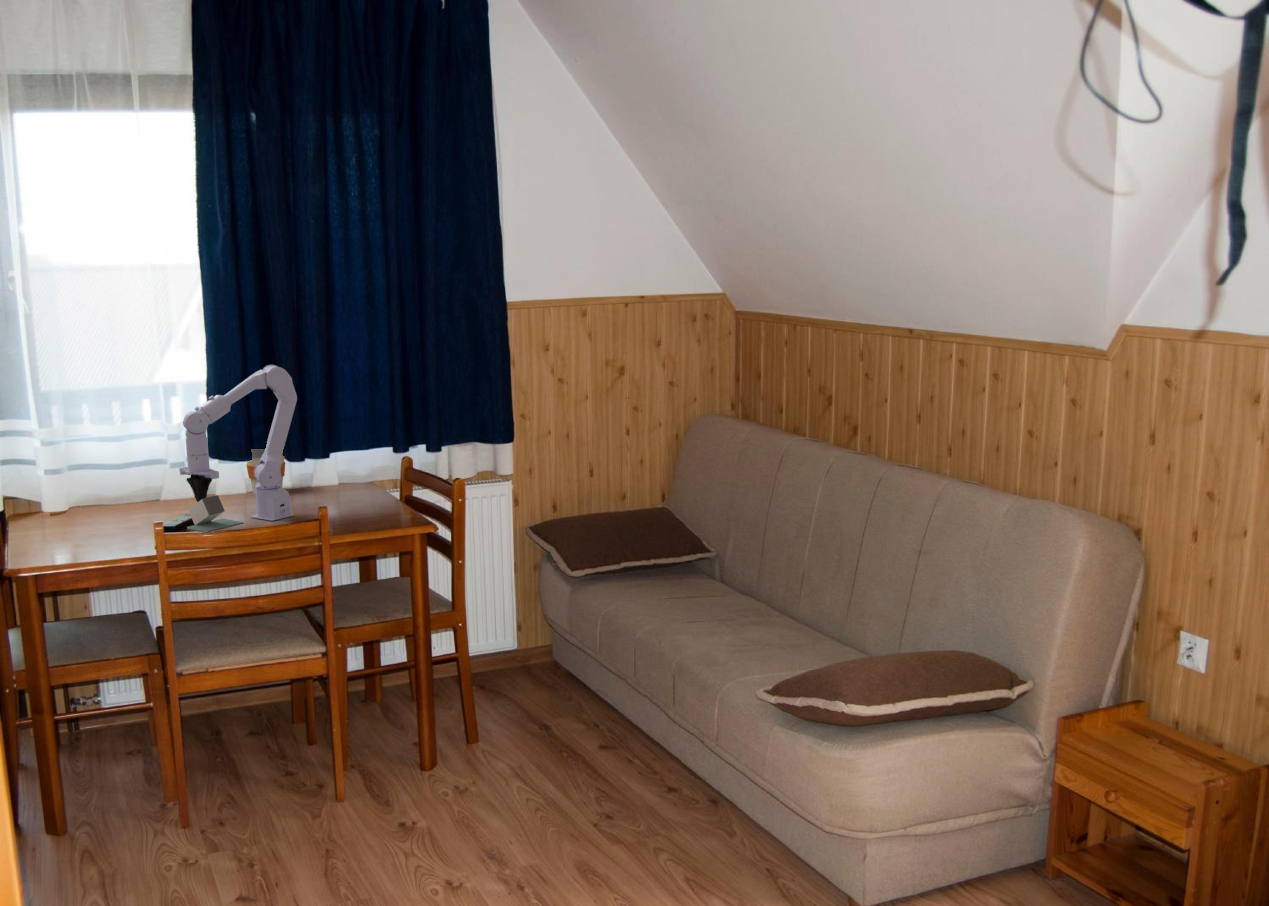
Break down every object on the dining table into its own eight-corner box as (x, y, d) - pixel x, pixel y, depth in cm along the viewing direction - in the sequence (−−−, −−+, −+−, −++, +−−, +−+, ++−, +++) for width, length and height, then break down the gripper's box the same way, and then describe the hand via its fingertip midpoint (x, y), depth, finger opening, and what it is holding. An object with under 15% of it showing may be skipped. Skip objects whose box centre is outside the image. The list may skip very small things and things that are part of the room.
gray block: (209, 522, 332) (224, 510, 328) (194, 525, 328) (210, 514, 324) (202, 506, 333) (217, 495, 328) (188, 509, 329) (203, 498, 324)
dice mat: (243, 523, 330) (243, 522, 330) (205, 532, 320) (205, 531, 319) (222, 519, 335) (222, 518, 335) (184, 528, 324) (184, 527, 324)
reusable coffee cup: (296, 490, 377) (293, 444, 375) (266, 497, 366) (263, 450, 364) (269, 486, 383) (266, 441, 381) (238, 493, 373) (235, 447, 370)
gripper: (169, 454, 327) (172, 501, 329) (202, 458, 319) (206, 506, 322) (190, 450, 333) (193, 497, 335) (223, 454, 325) (227, 502, 328)
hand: (201, 501), depth 329 cm, fingers closed
